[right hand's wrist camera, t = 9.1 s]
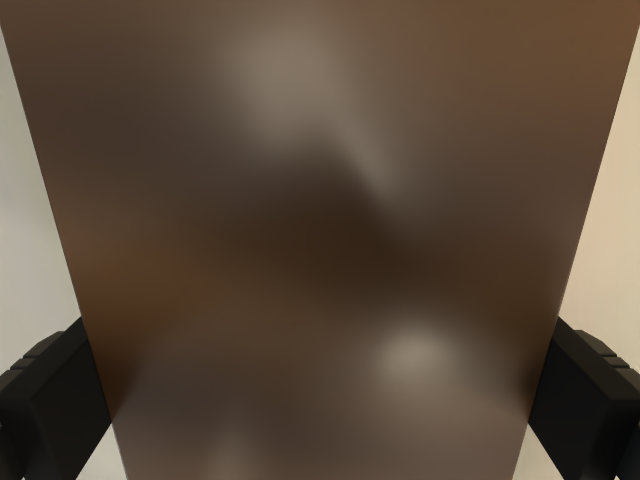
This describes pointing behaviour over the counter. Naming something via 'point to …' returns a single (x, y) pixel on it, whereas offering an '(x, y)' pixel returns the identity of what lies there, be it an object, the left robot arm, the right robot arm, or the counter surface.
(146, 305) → the cabinet
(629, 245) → the counter surface
